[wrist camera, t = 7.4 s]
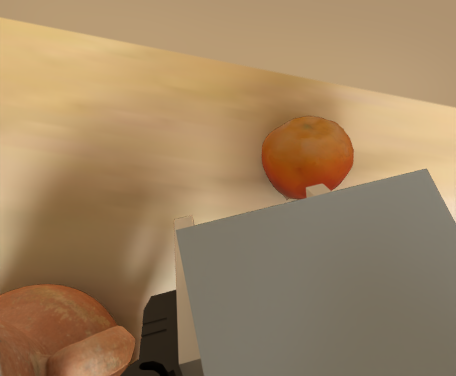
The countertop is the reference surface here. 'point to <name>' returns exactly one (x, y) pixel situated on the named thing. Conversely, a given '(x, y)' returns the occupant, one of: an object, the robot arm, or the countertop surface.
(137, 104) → the countertop surface
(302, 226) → the pillar
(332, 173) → the fruit
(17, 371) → the ceramic jug
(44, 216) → the countertop surface
